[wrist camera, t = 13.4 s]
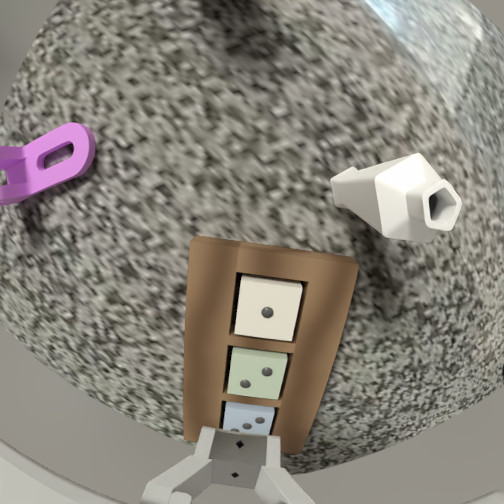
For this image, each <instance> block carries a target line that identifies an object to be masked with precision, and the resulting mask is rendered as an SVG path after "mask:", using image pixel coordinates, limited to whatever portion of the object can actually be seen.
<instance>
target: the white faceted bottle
mask: <svg viewBox="0 0 504 504" xmlns="http://www.w3.org/2000/svg"><path fill="white" fill-rule="evenodd" d="M330 182H331V187H332V192H333V198H334V203H335V206H336V207H338V208H346V209H350V210H351V211H352V212H354V213H355V214H356V215H358V216H359V217H360V218H362V219H363V220H364V221H366V222H367V223H368V224H369V225H371V226H372V227H373V228H375V229H376V230H377V231H378V232H380V233H381V234H382V235H383V236H385V237H387V238H394V239H402V240H409V241H416V242H423V243H430V242H432V240H433V238H434V236H435V234H436V232H437V229H438V230H444V231H450V230H451V229H452V228H453V226H454V224H455V221H456V219H457V217H458V214H459V211H460V209H461V206H462V201H461V199H460V198H459V196H458V195H457V193H456V192H455V190H454V189H453V188H452V186H451V185H450V184H449V182H448V181H447V180H441V178H440V177H439V176H438V175H437V173H436V172H435V171H434V170H433V168H432V167H431V166H430V165H429V163H428V162H427V161H426V160H425V159H424V157H423V156H422V155H421V154H419V153H417V154H413V155H410V156H406V157H403V158H399V159H396V160H392V161H389V162H385V163H382V164H379V165H375V166H372V167H369V168H365V169H362V170H359V171H358V170H357V169H356V168H355V167H351V168H349V169H347V170H345V171H344V172H342V173H340V174H338V175H336V176H335V177H333V178H331V180H330Z"/></svg>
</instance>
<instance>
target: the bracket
mask: <svg viewBox="0 0 504 504" xmlns="http://www.w3.org/2000/svg"><path fill="white" fill-rule="evenodd" d="M70 143H73V145H74V153H73V155H72V156H71V158H69V159H67V160H65V161H63V162H61V163H58V164H56V165H54V166H52V167H50V168H48V169H45V168H44V159H45V157H46V155H48V154H50V153H52V152H54V151H56V150H58V149H60V148H62V147H64V146H66V145H68V144H70ZM95 150H96V143H95V138H94V135H93V133H92V131H91V130H90V129H89V128H88V127H87V126H85V125H82V124H78V123H67V124H64V125H62V126H60V127H58V128H57V129H55V130H53V131H51V132H49V133H47V134H45V135H43V136H42V137H40V138H38V139H36V140H34V141H33V142H31V143H29V144H28V145H26V146H23V147H9V146H0V170H6V174H7V181H8V185H3V186H0V206H3V205H8V204H14V203H18V202H20V201H23V200H25V199H27V198H29V197H31V196H33V195H36V194H38V193H40V192H42V191H44V190H47V189H49V188H51V187H54V186H56V185H58V184H61V183H63V182H66V181H68V180H71V179H73V178H76V177H78V176H80V175H82V174H83V173H85V172H86V171H87V169H88V168H89V167H90V165H91V163H92V161H93V159H94V156H95Z"/></svg>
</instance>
